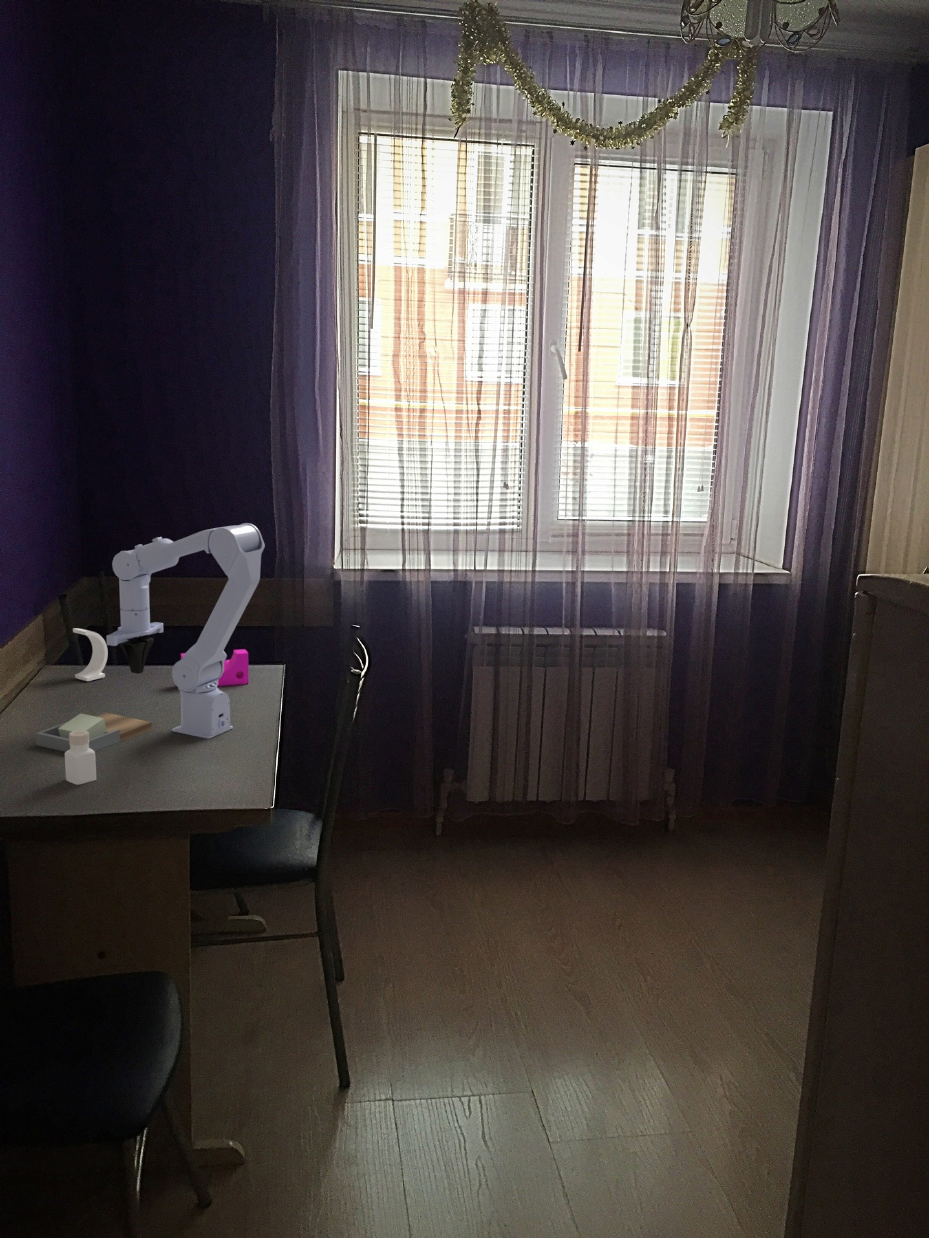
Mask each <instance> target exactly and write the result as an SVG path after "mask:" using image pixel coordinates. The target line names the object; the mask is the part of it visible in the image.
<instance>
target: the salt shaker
mask: <svg viewBox="0 0 929 1238" xmlns="http://www.w3.org/2000/svg"><path fill="white" fill-rule="evenodd" d="M69 740H70V741H69V744H70V750H68V751H66V752H64V769H65V781H67V782H69V783H72V784H74V785H77V786H79V785H83V784H87V783H90V782H93V781H96V780H97V767H96V765H97V763H96V761H97V759H96V753H95V752H96V751H93V750H92V749H90V748H89V732H88V731H84V730H78V731H73V732H70V734H69Z"/></svg>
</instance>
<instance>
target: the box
mask: <svg viewBox="0 0 929 1238" xmlns="http://www.w3.org/2000/svg"><path fill="white" fill-rule="evenodd" d="M67 722H68V721H66V722H63V723H60V724H57V725H55V726H53V727H50V728H49V727H48V728H46V729H44V730H41V731H37V732H35V741H36V742H35V745H36V746H37V747H42V748H48V749H52V750H55V751H61V752H64V753H65V752H66V751H68V750H70V744H69V741H70V740H69V739H68V738H63V737H60V734H59V730H58V728H60V727H61V726H63V725H64V724H66V723H67ZM119 743H121V742H120V730H118V729H115V730H113V731H110V732H108V733H105V734H102V735H100V736H97V737H94V738H92V739H89V748H90V749H92V750H93V751H95V752H97V751H99V749H100V750H103V749H105V748H107V747H110V745H111V746H113V745H116V744H119ZM104 747H105V748H104ZM102 748H103V749H102Z"/></svg>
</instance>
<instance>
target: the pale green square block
mask: <svg viewBox="0 0 929 1238" xmlns="http://www.w3.org/2000/svg"><path fill="white" fill-rule="evenodd" d="M66 722H67V723H66ZM66 722H65V723H66V724H64V725H63V726H61V727H60V728H58V730H59V734H60V737H63V738H68V739H69V734H70V732H73V731H78V730H84V731H88V732H89V739H92V738H94V737H97V736H100V735H102V734H104V733H106V732H107V729H106V725H105V721H104V718H100V717H96V716H94V715H90V714H86V713H79V714H77V715H76V716H75V717H73V718H71V719H70V720H69V721H66Z"/></svg>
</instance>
